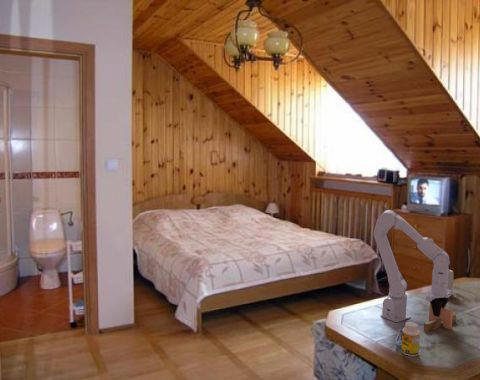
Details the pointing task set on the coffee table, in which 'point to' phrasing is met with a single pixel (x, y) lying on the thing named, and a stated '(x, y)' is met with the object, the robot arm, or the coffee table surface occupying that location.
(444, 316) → the tan flat plank
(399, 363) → the coffee table surface
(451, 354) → the coffee table surface
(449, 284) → the beverage can
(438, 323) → the walnut board
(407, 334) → the supplement bottle
